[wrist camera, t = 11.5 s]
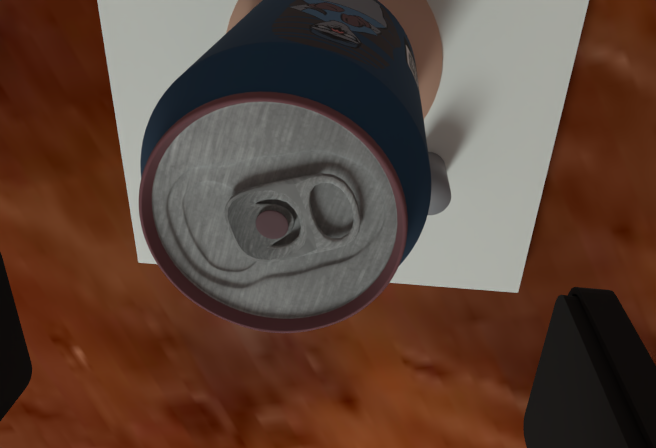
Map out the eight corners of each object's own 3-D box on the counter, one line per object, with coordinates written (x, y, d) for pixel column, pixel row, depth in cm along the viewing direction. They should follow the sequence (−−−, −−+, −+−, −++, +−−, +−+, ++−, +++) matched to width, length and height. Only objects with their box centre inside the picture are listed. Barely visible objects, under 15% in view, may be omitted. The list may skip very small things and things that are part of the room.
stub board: (637, -253, 18) (690, -282, 15) (513, 277, 28) (528, 328, 25) (72, -265, 19) (8, -295, 16) (147, 249, 29) (117, 293, 26)
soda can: (269, 170, 25) (184, 372, 15) (210, 5, 22) (47, 113, 11) (431, 133, 24) (463, 329, 13) (392, -50, 20) (396, 19, 10)
